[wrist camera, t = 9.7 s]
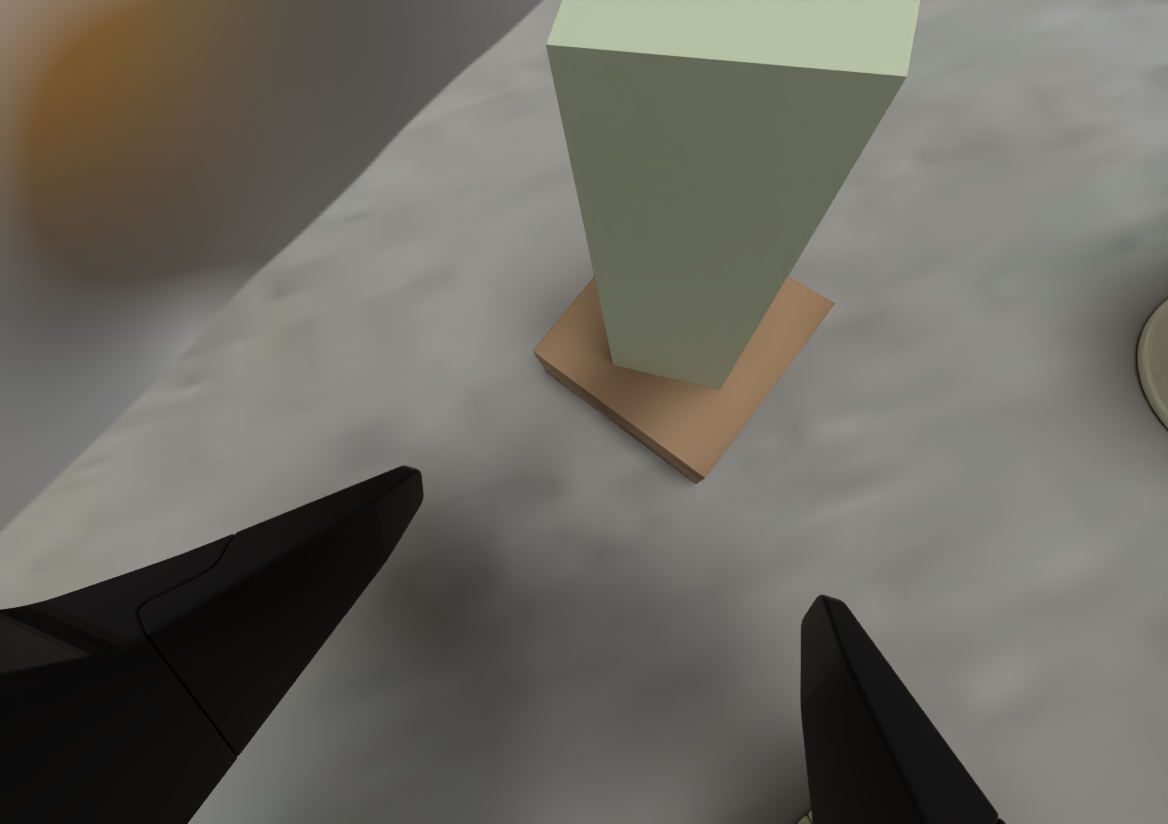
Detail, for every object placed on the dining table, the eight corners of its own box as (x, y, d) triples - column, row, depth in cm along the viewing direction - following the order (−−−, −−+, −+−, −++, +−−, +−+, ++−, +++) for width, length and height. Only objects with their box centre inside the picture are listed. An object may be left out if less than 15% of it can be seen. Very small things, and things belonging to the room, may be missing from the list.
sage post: (720, 390, 18) (907, 75, 5) (612, 364, 18) (545, 44, 6) (743, 291, 18) (953, -188, 6) (640, 271, 19) (632, -183, 7)
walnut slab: (808, 333, 21) (835, 303, 18) (696, 483, 20) (705, 478, 17) (654, 241, 23) (656, 201, 20) (547, 372, 22) (532, 351, 19)
